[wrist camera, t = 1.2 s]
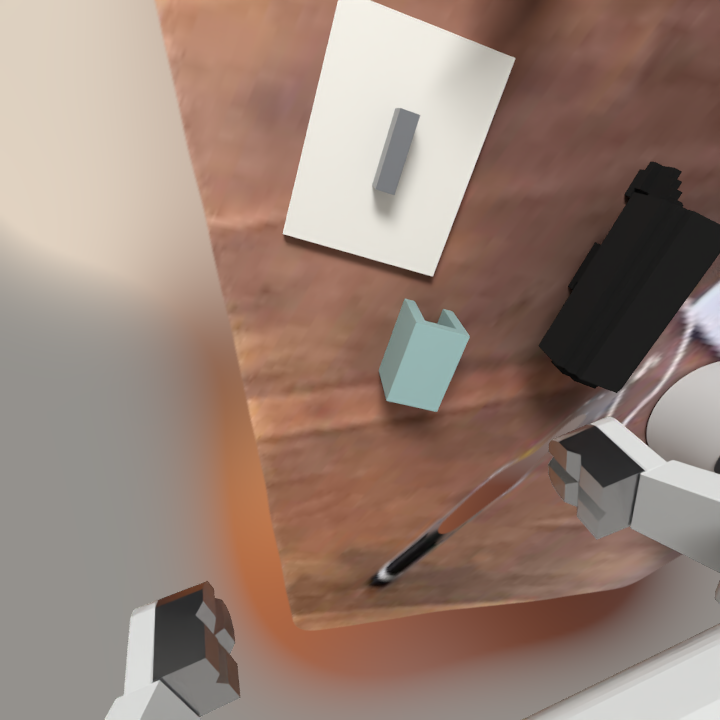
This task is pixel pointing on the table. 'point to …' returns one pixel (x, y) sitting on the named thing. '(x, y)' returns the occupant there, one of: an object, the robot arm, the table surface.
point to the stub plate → (360, 128)
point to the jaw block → (421, 357)
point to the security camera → (632, 283)
